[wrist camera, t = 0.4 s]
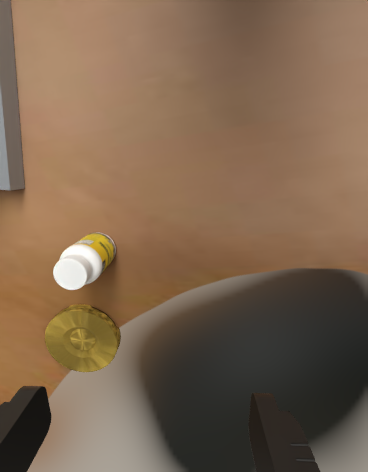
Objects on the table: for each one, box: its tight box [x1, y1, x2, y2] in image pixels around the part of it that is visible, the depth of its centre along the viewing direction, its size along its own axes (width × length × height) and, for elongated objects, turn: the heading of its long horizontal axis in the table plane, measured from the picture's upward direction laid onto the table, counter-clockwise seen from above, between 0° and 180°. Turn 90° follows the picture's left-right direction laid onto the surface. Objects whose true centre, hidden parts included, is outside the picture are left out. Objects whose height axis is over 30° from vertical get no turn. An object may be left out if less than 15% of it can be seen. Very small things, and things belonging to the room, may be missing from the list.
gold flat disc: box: [45, 304, 121, 372], centre depth 42 cm, size 12×12×2 cm
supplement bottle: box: [53, 232, 116, 290], centre depth 33 cm, size 5×5×10 cm
